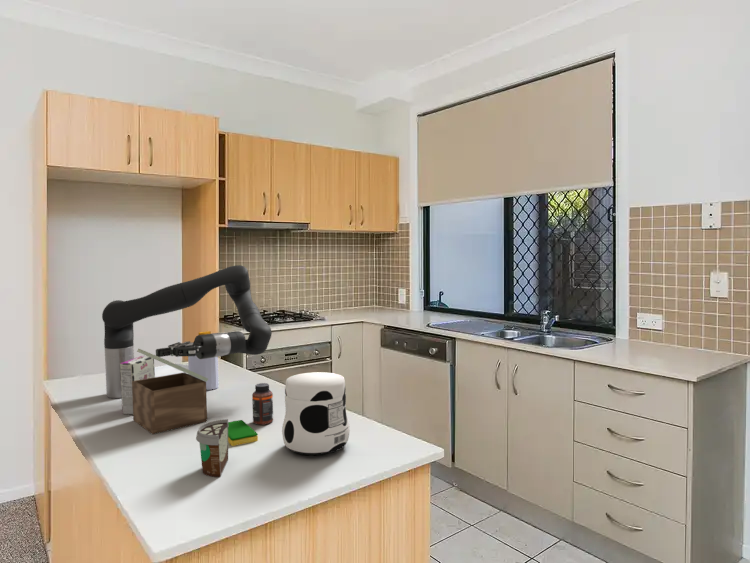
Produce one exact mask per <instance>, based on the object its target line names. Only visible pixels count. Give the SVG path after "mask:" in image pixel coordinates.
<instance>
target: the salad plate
mask: <svg viewBox="0 0 750 563" xmlns="http://www.w3.org/2000/svg"><path fill="white" fill-rule="evenodd" d="M174 364H176V365H179V366H181V367H183V368H185V369H188V370H189V367H188V364H183V363H177V362H175V363H174ZM154 371H155V377H160V376H166V375H172V374H178V373H184V372H183V371H181V370H178V369H176V368H174V367H172V366H169V365H167V364H164V365H159V366H154ZM187 374H188V373H187Z"/></svg>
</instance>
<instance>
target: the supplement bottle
mask: <svg viewBox="0 0 750 563" xmlns="http://www.w3.org/2000/svg"><path fill="white" fill-rule="evenodd" d="M254 389H255V391H254V392H253V393H252V395H251V396H252V398H251V399H252V400H251V401H252V402H251V403H252V422H253V424H255V425H258V426H259V425H262V426H263V425H268V424H271V423H273V421H274V399H273V397H274V396H273V391H271V390H270V384H269V383H268V382H267V383H266V382H260V383H256V384H255V387H254Z"/></svg>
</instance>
